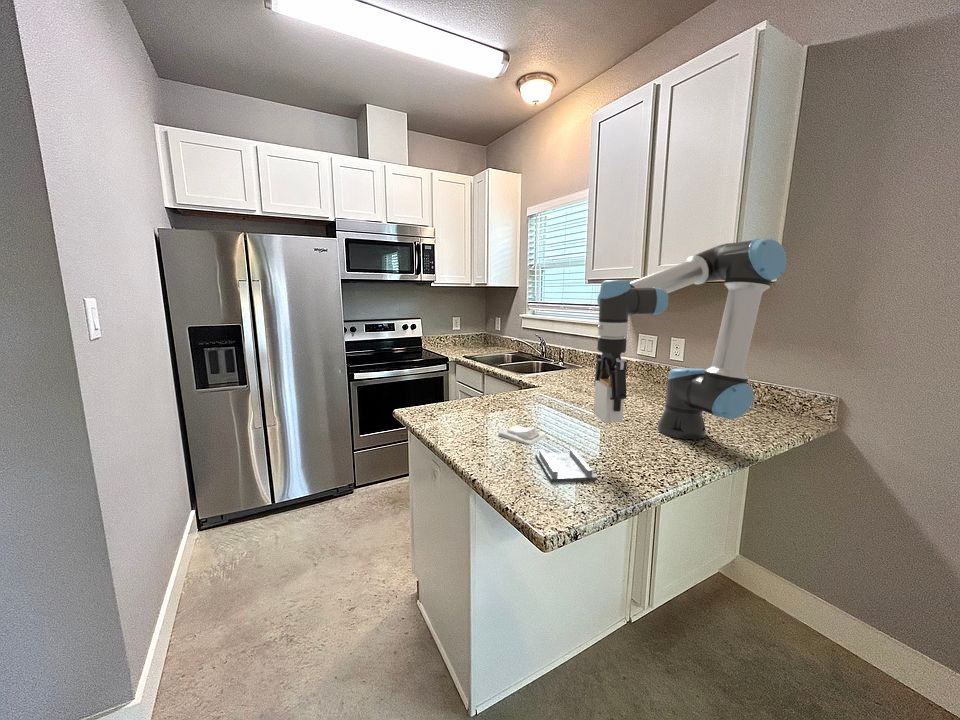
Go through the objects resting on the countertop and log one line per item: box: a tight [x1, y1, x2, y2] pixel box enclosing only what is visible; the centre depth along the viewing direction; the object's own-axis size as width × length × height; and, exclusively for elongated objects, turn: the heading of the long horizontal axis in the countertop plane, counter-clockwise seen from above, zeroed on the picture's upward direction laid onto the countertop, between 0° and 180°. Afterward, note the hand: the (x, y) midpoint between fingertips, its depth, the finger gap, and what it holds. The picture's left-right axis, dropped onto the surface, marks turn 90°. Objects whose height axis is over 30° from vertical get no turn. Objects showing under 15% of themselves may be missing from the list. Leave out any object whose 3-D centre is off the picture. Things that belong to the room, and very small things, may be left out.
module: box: [593, 377, 625, 424], centre depth 109 cm, size 5×8×11 cm, turn 6°
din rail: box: [535, 448, 597, 483], centre depth 107 cm, size 12×16×2 cm
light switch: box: [498, 424, 547, 446], centre depth 130 cm, size 11×4×13 cm
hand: (607, 416), depth 110 cm, fingers closed on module, 8 cm apart
